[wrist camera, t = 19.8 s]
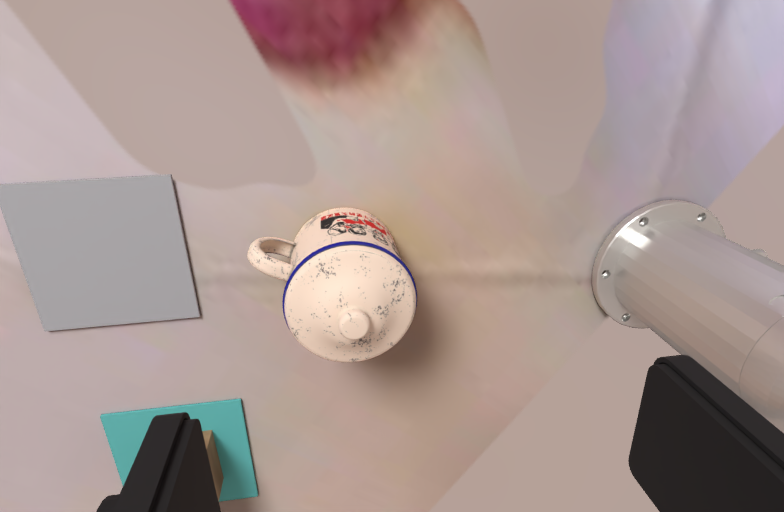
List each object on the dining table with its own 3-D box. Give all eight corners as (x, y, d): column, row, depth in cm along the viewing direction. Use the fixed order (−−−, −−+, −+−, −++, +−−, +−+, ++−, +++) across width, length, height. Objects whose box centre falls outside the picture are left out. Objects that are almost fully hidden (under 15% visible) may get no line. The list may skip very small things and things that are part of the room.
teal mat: (240, 398, 45) (240, 400, 45) (258, 493, 50) (257, 496, 50) (101, 414, 44) (100, 416, 43) (133, 510, 48) (132, 513, 48)
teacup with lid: (415, 226, 41) (451, 289, 30) (371, 316, 44) (390, 403, 33) (276, 171, 38) (262, 221, 27) (238, 272, 40) (211, 354, 30)
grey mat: (171, 174, 37) (170, 175, 36) (200, 315, 41) (199, 317, 41) (-5, 184, 35) (-8, 185, 35) (46, 329, 40) (44, 331, 40)
